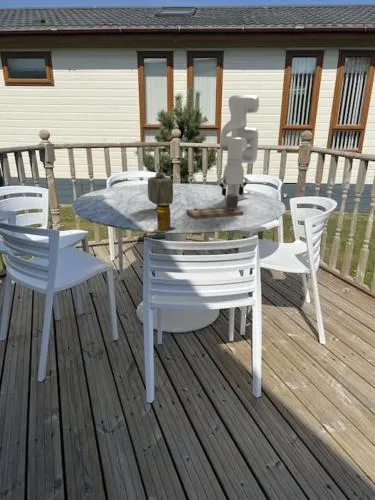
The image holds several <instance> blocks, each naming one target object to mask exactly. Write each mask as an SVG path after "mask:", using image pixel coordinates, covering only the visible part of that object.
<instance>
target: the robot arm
mask: <svg viewBox="0 0 375 500" xmlns="http://www.w3.org/2000/svg"><path fill="white" fill-rule="evenodd" d="M259 107H260V98H259V95H256V94H234V95H231V96H230V97H229V98H228V108H229V113H230V120H229V121H227V122H226V123H225V125H224V126H223V128H222V129H221V131H220V140H219V148H220V150H221V151H223V152H227V159H226V164H224V165H225V166H224V169H223V173H222V174H223V175H222V177H221V178H218V180H217V182H218V186H220V187H221V194H222V196H223V197H224V198H225V200H227V195H228V194H235V195H237V196H238V201H242V200H244V199H245V198H246V197H245V196H248V195H250V191H246V190H244V188H245V186H246V185H247V184H248V182H249V178H247V177H245V176H244V175H245V169H244V166H243V164H254V163H255V162H256V161H257V158H258V149H259V147H258V145H259V132H258V131H259V130H258V128H255V127H247V123H248V122H247V121H248V120H247V114H257V112H258V111H259ZM229 133H231V136H227V135H228V134H229ZM248 145H249V146H248Z"/></svg>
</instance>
